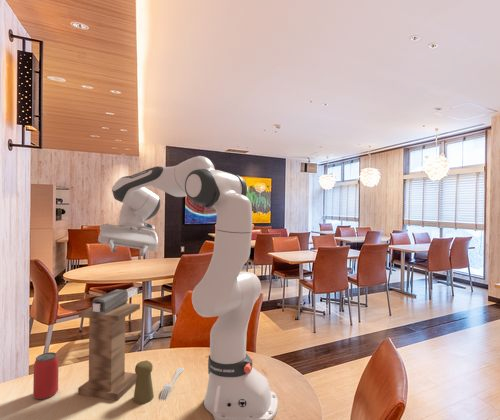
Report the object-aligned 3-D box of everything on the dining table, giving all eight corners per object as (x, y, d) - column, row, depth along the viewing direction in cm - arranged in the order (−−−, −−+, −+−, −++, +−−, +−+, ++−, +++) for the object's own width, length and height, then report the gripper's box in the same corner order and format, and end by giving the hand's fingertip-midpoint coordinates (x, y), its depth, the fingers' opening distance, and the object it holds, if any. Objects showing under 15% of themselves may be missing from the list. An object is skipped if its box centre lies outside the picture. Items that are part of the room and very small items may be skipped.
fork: (185, 375, 116) (185, 367, 116) (166, 403, 96) (166, 393, 96) (177, 374, 116) (178, 366, 117) (157, 402, 96) (157, 393, 96)
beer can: (28, 397, 97) (28, 358, 97) (48, 386, 103) (49, 350, 103) (42, 402, 95) (43, 362, 95) (63, 390, 101) (63, 353, 101)
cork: (147, 405, 94) (147, 368, 94) (129, 402, 95) (129, 366, 95) (157, 393, 100) (157, 359, 100) (140, 391, 101) (140, 357, 101)
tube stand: (139, 379, 108) (140, 291, 108) (117, 400, 96) (118, 300, 96) (103, 374, 110) (104, 288, 110) (78, 394, 99) (79, 297, 99)
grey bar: (139, 293, 118) (139, 286, 118) (99, 311, 96) (99, 304, 96) (133, 292, 118) (133, 286, 118) (92, 311, 97) (92, 303, 96)
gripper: (102, 216, 113) (97, 240, 102) (159, 226, 122) (159, 250, 111) (98, 229, 116) (93, 254, 105) (154, 239, 124) (155, 263, 113)
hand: (128, 252), depth 108 cm, fingers open, 8 cm apart
